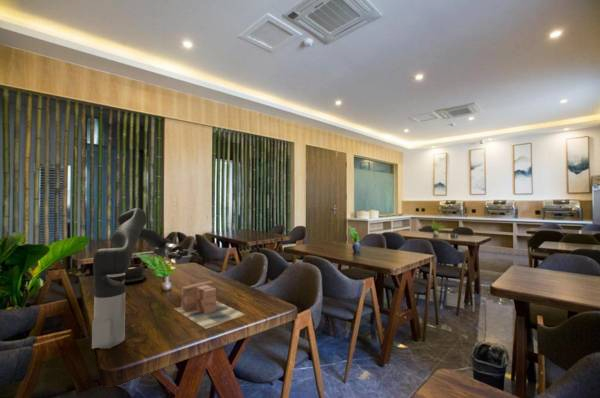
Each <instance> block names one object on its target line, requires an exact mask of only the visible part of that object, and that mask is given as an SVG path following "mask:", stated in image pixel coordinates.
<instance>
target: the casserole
mask: <svg viewBox="0 0 600 398" xmlns="http://www.w3.org/2000/svg"><path fill="white" fill-rule="evenodd" d="M144 270H145V267H144V266H143V264H140V263H139V264H138V263H137V264H135V263H133V264H131V263H130V266H129V269H128V270H127V271H126V272H125V280H124V283H130V282H131V283H132V282H137V281H142V280H144V278H145V277H146V276H147V274H146V273H144Z"/></svg>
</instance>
